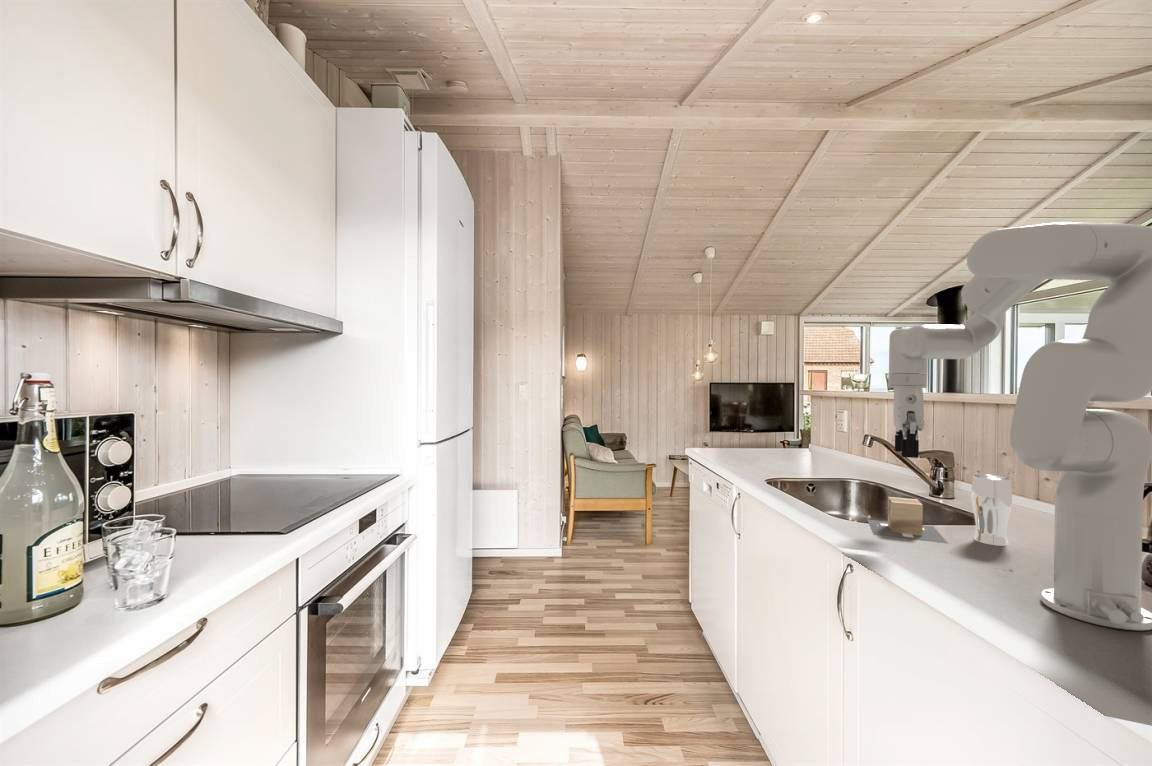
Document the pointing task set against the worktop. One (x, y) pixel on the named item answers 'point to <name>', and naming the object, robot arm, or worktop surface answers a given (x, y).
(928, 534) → the letter mat
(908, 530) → the oak block
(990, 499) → the beer glass
